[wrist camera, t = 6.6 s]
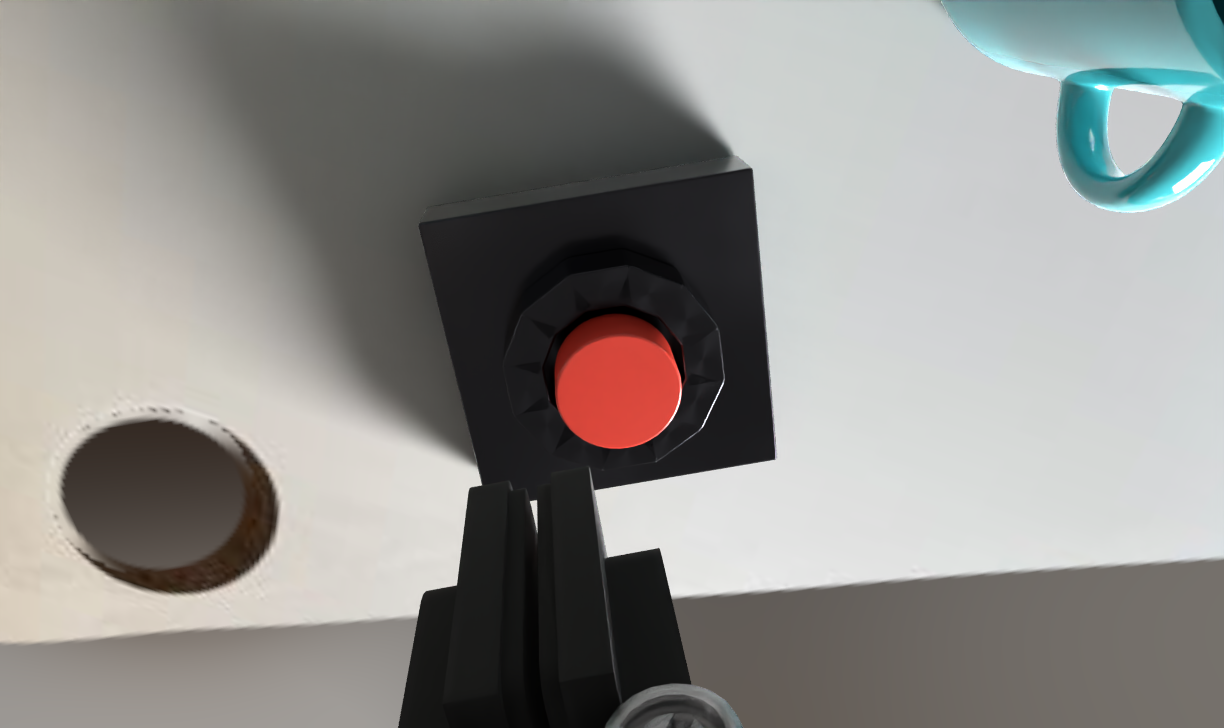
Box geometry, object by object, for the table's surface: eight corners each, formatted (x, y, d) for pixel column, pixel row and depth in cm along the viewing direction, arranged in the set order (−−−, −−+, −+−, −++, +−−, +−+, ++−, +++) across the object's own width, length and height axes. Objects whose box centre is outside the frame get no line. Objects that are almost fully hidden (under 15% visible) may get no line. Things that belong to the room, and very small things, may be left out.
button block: (491, 475, 31) (484, 539, 28) (426, 206, 27) (408, 239, 24) (762, 430, 31) (791, 487, 28) (737, 154, 27) (767, 179, 24)
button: (565, 430, 27) (566, 459, 25) (544, 323, 25) (544, 345, 24) (680, 411, 27) (688, 438, 25) (665, 303, 25) (673, 324, 24)
